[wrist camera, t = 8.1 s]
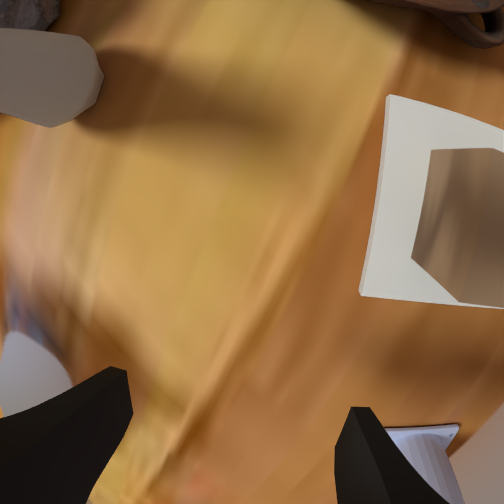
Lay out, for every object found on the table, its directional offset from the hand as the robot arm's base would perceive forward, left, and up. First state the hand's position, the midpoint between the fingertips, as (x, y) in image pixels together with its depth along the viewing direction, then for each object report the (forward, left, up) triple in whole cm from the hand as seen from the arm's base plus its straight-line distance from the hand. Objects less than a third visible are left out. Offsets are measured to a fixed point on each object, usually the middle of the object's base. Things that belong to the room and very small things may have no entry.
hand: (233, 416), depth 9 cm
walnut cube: (+6, -11, -9) cm, 16 cm away
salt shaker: (+12, +13, -10) cm, 20 cm away
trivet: (+7, -11, -10) cm, 16 cm away
